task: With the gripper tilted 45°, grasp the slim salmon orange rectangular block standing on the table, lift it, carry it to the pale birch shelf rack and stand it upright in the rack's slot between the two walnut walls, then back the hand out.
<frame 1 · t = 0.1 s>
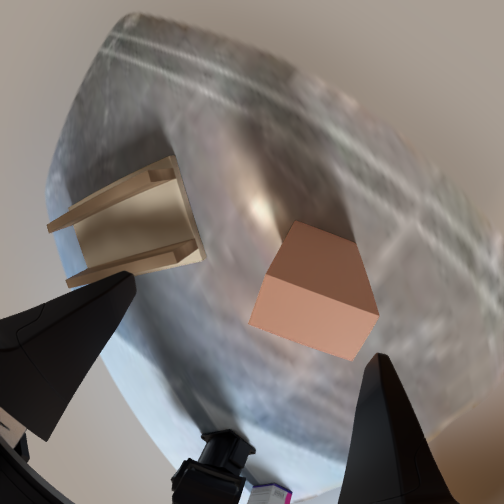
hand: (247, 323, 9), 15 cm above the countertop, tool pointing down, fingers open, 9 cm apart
salmon orange rectangular block: (320, 246, 23), on the countertop
supplement box: (272, 488, 39), on the countertop
shelf rack: (128, 227, 28), on the countertop
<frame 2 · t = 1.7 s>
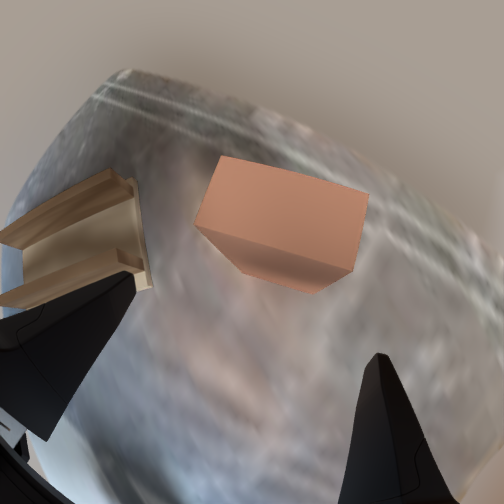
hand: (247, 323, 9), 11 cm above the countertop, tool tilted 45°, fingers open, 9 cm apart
salmon orange rectangular block: (283, 265, 21), on the countertop
shelf rack: (75, 256, 23), on the countertop
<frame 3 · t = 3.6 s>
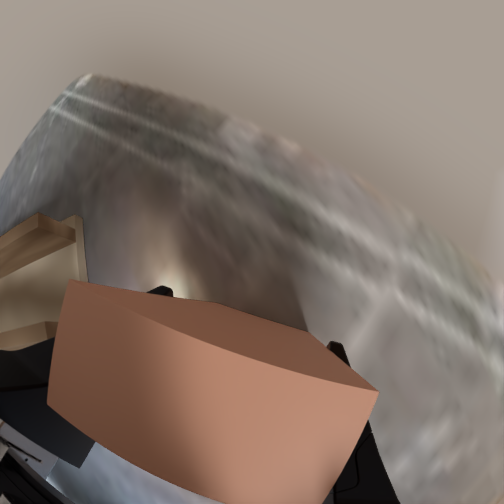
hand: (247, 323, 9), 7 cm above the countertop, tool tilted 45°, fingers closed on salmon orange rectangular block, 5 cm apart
salmon orange rectangular block: (254, 341, 15), on the countertop, touching gripper
shelf rack: (26, 303, 18), on the countertop
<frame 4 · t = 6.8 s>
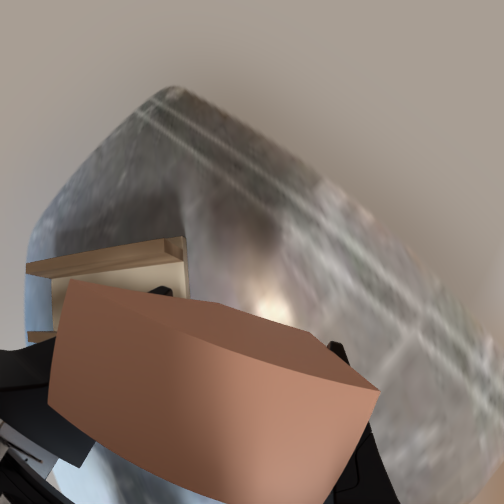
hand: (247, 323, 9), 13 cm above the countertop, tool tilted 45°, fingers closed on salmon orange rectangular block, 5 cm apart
salmon orange rectangular block: (254, 341, 15), point 7 cm above the countertop, touching gripper
shelf rack: (112, 302, 24), on the countertop
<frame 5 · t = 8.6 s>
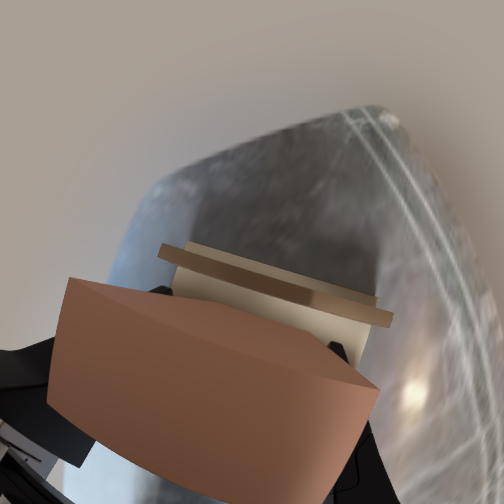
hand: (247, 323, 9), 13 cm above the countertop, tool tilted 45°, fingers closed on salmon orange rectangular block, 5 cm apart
salmon orange rectangular block: (254, 340, 15), point 6 cm above the countertop, touching gripper
shelf rack: (262, 331, 22), on the countertop
when the fingers open (8 cm above the countertop, at t = 9.9 s): salmon orange rectangular block stays where it is, resting on shelf rack.
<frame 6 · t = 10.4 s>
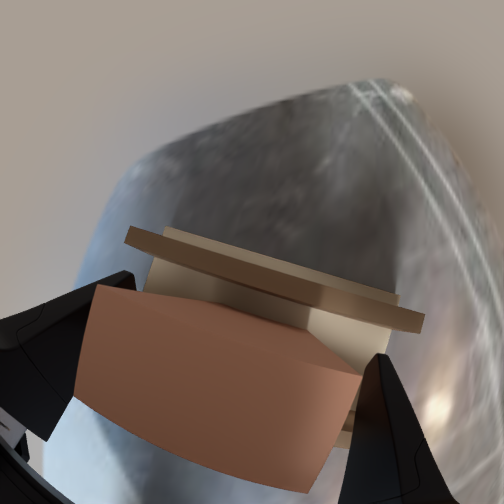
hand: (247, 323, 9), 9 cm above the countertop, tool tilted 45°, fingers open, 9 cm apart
salmon orange rectangular block: (255, 338, 16), point 1 cm above the countertop, touching shelf rack
shelf rack: (257, 337, 17), on the countertop
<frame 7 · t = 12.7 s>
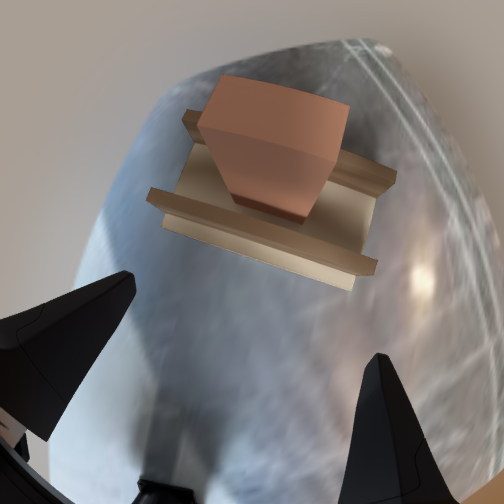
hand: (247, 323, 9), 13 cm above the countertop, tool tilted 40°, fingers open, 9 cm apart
salmon orange rectangular block: (273, 197, 22), point 1 cm above the countertop, touching shelf rack
shelf rack: (273, 200, 23), on the countertop
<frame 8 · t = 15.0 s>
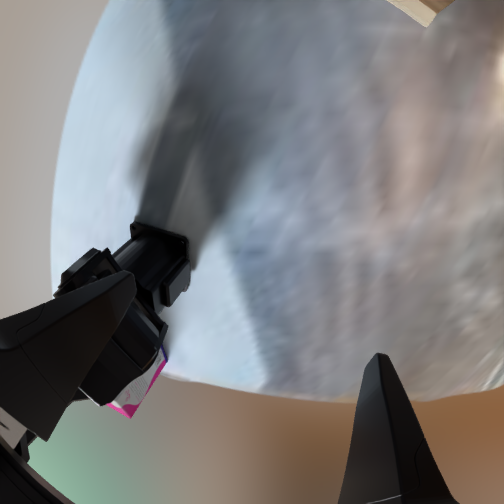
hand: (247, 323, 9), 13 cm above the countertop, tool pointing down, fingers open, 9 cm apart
supplement box: (149, 343, 38), on the countertop
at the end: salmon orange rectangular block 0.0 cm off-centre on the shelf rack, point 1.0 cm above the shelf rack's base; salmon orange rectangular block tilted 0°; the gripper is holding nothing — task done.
